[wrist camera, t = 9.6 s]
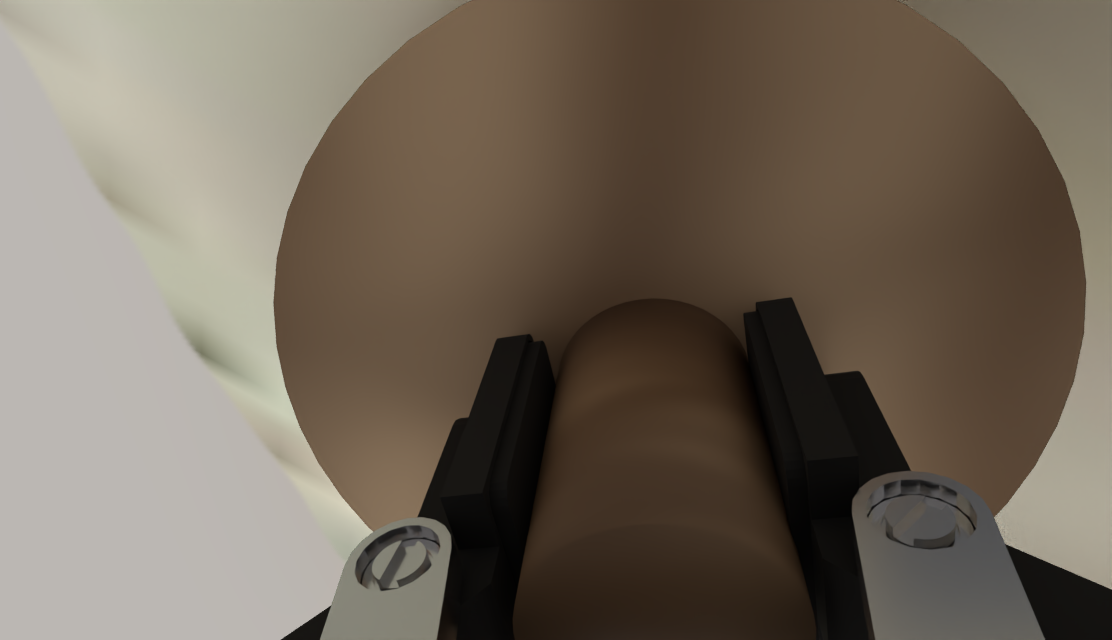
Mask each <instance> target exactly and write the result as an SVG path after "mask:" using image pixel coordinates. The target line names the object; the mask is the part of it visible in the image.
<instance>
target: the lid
mask: <svg viewBox="0 0 1112 640" xmlns="http://www.w3.org/2000/svg"><path fill="white" fill-rule="evenodd" d="M789 297H792V299H793V301H794V303H795V306H796V308H797V310H798V313H799V315H800V317H801V320H802V322H803V325H804V327H805V329H806V332H807V334H808V337H809V339H810V341H811V344H812V346H813V349H814V351H815V353H816V356H817V358H818V361H819V363H820V365H821V368H822V370H823V372H824V375H825V374H833V373H842V372H850V371H860V372H861V373H862V375H863V376H864V378H865V380H866V382H867V384H868V386H869V388H870V390H871V392H872V394H873V396H874V398H875V400H876V402H877V404H878V406H879V408H880V410H881V412H882V414H883V416H884V418H885V420H886V422H887V424H888V426H889V428H890V430H891V432H892V434H893V436H894V438H895V440H896V442H897V444H898V446H899V448H900V450H901V451H902V453H903V455H904V457H905V459H906V461H907V463H908V465H909V467H910V469H911V471H916V472H929V473H933V474H937V475H941V476H944V477H948V478H951V479H953V480H955V481H957V482H959V483H961V484H963V485H966V486H968V487H969V488H970V489H971V490H973V491H974V492H975V493H976V494H978V495H979V496H980V497H981V498H982V499H983V500H984V502H985V503H986V505H987V506H988V507H989V509H990V510H991V512H992V514H993V517H995V516H996V515H997V513H998V512H999V511H1000V510H1001V509H1002V508H1003V507H1004V506H1005V505H1006V504H1007V503H1008V502H1009V500H1010V499H1011V498H1012V496H1013V495H1014V493H1015V492H1016V491H1017V489H1018V488H1019V487H1020V485H1021V484H1022V483H1023V481H1024V480H1025V479H1026V477H1027V476H1028V475H1029V473H1030V472H1031V471H1032V469H1033V468H1034V466H1035V465H1036V463H1037V461H1038V459H1039V457H1040V456H1041V454H1042V452H1043V450H1044V448H1045V447H1046V445H1047V443H1048V441H1049V439H1050V437H1051V436H1052V434H1053V432H1054V430H1055V428H1056V427H1057V424H1058V422H1059V419H1060V416H1061V414H1062V411H1063V409H1064V406H1065V403H1066V401H1067V398H1068V395H1069V393H1070V390H1071V387H1072V385H1073V382H1074V378H1075V373H1076V368H1077V364H1078V359H1079V354H1080V349H1081V344H1082V340H1083V335H1084V320H1085V297H1086V278H1085V270H1084V262H1083V254H1082V246H1081V238H1080V231H1079V228H1078V224H1077V221H1076V218H1075V214H1074V211H1073V208H1072V205H1071V201H1070V198H1069V195H1068V192H1067V188H1066V185H1065V182H1064V179H1063V177H1062V175H1061V173H1060V171H1059V169H1058V167H1057V165H1056V163H1055V161H1054V159H1053V157H1052V156H1051V154H1050V152H1049V150H1048V148H1047V146H1046V144H1045V142H1044V140H1043V138H1042V136H1041V134H1040V132H1039V130H1038V129H1037V127H1036V126H1035V125H1034V123H1033V122H1032V121H1031V119H1030V118H1029V117H1028V115H1027V114H1026V113H1025V111H1024V110H1023V109H1022V107H1021V106H1020V105H1019V103H1018V102H1017V101H1016V99H1015V98H1014V97H1013V95H1012V94H1011V93H1010V91H1009V90H1008V89H1007V87H1006V86H1005V85H1004V83H1003V82H1002V81H1001V80H1000V79H999V78H997V77H996V76H995V75H994V74H993V73H992V72H991V71H990V70H989V69H988V68H987V67H986V66H985V65H984V64H983V63H982V62H981V61H980V60H979V59H978V58H976V57H975V56H974V55H973V54H972V53H971V52H970V51H969V50H968V49H967V48H966V47H965V46H964V45H963V44H962V43H961V42H960V41H958V40H957V39H955V38H954V37H952V36H951V35H950V34H948V33H947V32H945V31H944V30H942V29H941V28H939V27H938V26H936V25H935V24H933V23H932V22H930V21H929V20H927V19H926V18H924V17H923V16H922V15H920V14H919V13H917V12H916V11H914V10H913V9H911V8H910V7H908V6H907V5H905V4H903V3H901V2H898V1H896V0H472V1H470V2H468V3H466V4H464V5H462V6H459V7H458V8H456V9H455V10H453V11H452V12H450V13H449V14H447V15H446V16H444V17H443V18H441V19H440V20H438V21H437V22H435V23H434V24H433V25H431V26H430V27H428V28H427V29H425V30H424V31H422V32H421V33H419V34H418V35H416V36H415V37H413V38H412V39H410V40H409V41H408V42H406V43H405V44H404V45H403V46H402V47H401V48H400V49H399V50H398V51H397V52H395V53H394V54H393V55H392V56H391V57H390V58H389V59H388V60H387V61H386V62H384V63H383V64H382V65H381V66H380V67H379V68H378V69H377V70H376V71H375V72H374V73H372V74H371V75H370V76H369V77H368V78H367V79H366V80H365V81H364V82H363V84H362V85H361V86H360V87H359V89H358V90H357V91H356V92H355V94H354V95H353V96H352V97H351V98H350V100H349V101H348V102H347V103H346V105H345V106H344V107H343V108H342V110H341V111H340V112H339V113H338V114H337V116H336V117H335V118H334V119H333V121H332V122H331V124H330V125H329V127H328V129H327V131H326V132H325V134H324V136H323V137H322V139H321V141H320V142H319V144H318V146H317V148H316V149H315V151H314V153H313V154H312V156H311V158H310V160H309V161H308V163H307V165H306V166H305V169H304V171H303V174H302V176H301V179H300V182H299V184H298V187H297V189H296V192H295V194H294V197H293V199H292V202H291V204H290V207H289V209H288V212H287V216H286V220H285V225H284V229H283V234H282V238H281V242H280V247H279V251H278V255H277V264H276V277H275V290H274V316H275V330H276V344H277V350H278V355H279V359H280V364H281V369H282V373H283V378H284V382H285V387H286V390H287V393H288V396H289V398H290V401H291V404H292V407H293V409H294V412H295V415H296V418H297V420H298V423H299V426H300V428H301V430H302V432H303V434H304V436H305V438H306V440H307V442H308V444H309V445H310V447H311V449H312V451H313V453H314V455H315V457H316V459H317V461H318V463H319V464H320V466H321V467H322V469H323V470H324V472H325V473H326V475H327V476H328V477H329V479H330V480H331V482H332V483H333V485H334V486H335V488H336V489H337V491H338V492H339V494H340V495H341V496H342V498H343V499H344V500H345V501H346V502H347V503H348V504H349V506H350V507H351V508H352V509H353V510H354V511H355V512H356V514H357V515H358V516H359V517H360V518H361V519H362V521H363V522H364V523H365V524H366V525H367V526H368V527H369V528H370V529H371V530H372V531H373V532H374V531H375V530H377V529H379V528H381V527H383V526H385V525H387V524H390V523H392V522H395V521H399V520H402V519H406V518H417V517H418V514H419V511H420V509H421V506H422V504H423V501H424V498H425V496H426V493H427V491H428V488H429V485H430V483H431V480H432V478H433V475H434V472H435V470H436V467H437V465H438V462H439V459H440V457H441V454H442V451H443V449H444V446H445V444H446V441H447V438H448V436H449V433H450V431H451V428H452V426H453V424H454V422H455V420H457V419H459V418H466V417H469V414H470V411H471V409H472V406H473V403H474V400H475V397H476V395H477V392H478V389H479V386H480V383H481V381H482V378H483V375H484V372H485V369H486V367H487V364H488V361H489V358H490V355H491V353H492V350H493V347H494V344H495V341H496V340H497V338H503V337H511V336H518V335H525V334H530V335H531V336H532V338H533V340H534V342H536V341H544V343H545V345H546V348H547V352H548V356H549V360H550V364H551V368H552V372H553V376H554V380H555V384H556V387H555V393H554V398H553V403H552V409H551V414H550V419H549V424H548V430H547V435H546V440H545V446H544V451H543V456H542V462H541V467H540V472H539V478H538V483H537V488H536V493H535V499H534V504H533V509H532V515H531V520H530V525H529V531H528V536H527V541H526V546H525V552H524V557H523V562H522V568H521V573H520V578H519V584H518V589H517V594H516V599H515V605H514V612H513V634H514V638H515V640H816V624H815V618H814V613H813V609H812V605H811V601H810V598H809V594H808V590H807V586H806V582H805V578H804V574H803V570H802V566H801V562H800V558H799V554H798V550H797V548H796V545H795V542H794V539H793V537H792V534H791V530H790V526H789V522H788V518H787V514H786V510H785V506H784V502H783V498H782V494H781V490H780V486H779V482H778V478H777V474H776V470H775V466H774V462H773V458H772V454H771V450H770V446H769V442H768V438H767V434H766V431H765V427H764V423H763V419H762V415H761V411H760V407H759V403H758V399H757V395H756V391H755V387H754V383H753V379H752V375H751V371H750V367H749V363H748V354H747V345H746V336H745V327H744V316H743V314H744V313H746V312H753V311H756V302H761V301H768V300H775V299H782V298H789Z"/></svg>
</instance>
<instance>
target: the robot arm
mask: <svg viewBox="0 0 1112 640" xmlns="http://www.w3.org/2000/svg"><path fill="white" fill-rule="evenodd" d="M743 316H744V327H745V336H746V345H747V354H748V363H749V367H750V371H751V375H752V379H753V383H754V387H755V391H756V395H757V399H758V403H759V407H760V411H761V415H762V419H763V423H764V427H765V431H766V434H767V438H768V442H769V446H770V450H771V454H772V458H773V462H774V466H775V470H776V474H777V478H778V482H779V486H780V490H781V494H782V498H783V502H784V506H785V510H786V514H787V518H788V522H789V526H790V530H791V534H792V537H793V539H794V542H795V545H796V548H797V550H798V554H799V558H800V562H801V566H802V570H803V574H804V578H805V582H806V586H807V590H808V594H809V598H810V601H811V605H812V609H813V613H814V618H815V624H816V640H1112V590H1111V589H1109V588H1107V587H1104V586H1102V585H1099V584H1097V583H1095V582H1092V581H1090V580H1088V579H1085V578H1083V577H1081V576H1078V575H1076V574H1074V573H1071V572H1069V571H1067V570H1064V569H1062V568H1060V567H1057V566H1055V565H1053V564H1050V563H1048V562H1046V561H1043V560H1041V559H1039V558H1036V557H1034V556H1032V555H1029V554H1027V553H1025V552H1022V551H1020V550H1018V549H1015V548H1013V547H1011V546H1008V545H1006V544H1005V543H1004V541H1003V538H1002V536H1001V533H1000V531H999V529H998V526H997V524H996V521H995V519H994V517H993V514H992V512H991V510H990V509H989V507H988V506H987V505H986V503H985V502H984V500H983V499H982V498H981V497H980V496H979V495H978V494H976V493H975V492H974V491H973V490H971V489H970V488H969V487H968V486H966V485H963V484H961V483H959V482H957V481H955V480H953V479H951V478H948V477H944V476H941V475H937V474H933V473H929V472H916V471H911V469H910V467H909V465H908V463H907V461H906V459H905V457H904V455H903V453H902V451H901V450H900V448H899V446H898V444H897V442H896V440H895V438H894V436H893V434H892V432H891V430H890V428H889V426H888V424H887V422H886V420H885V418H884V416H883V414H882V412H881V410H880V408H879V406H878V404H877V402H876V400H875V398H874V396H873V394H872V392H871V390H870V388H869V386H868V384H867V382H866V380H865V378H864V376H863V375H862V373H861V372H860V371H850V372H842V373H833V374H825V375H824V372H823V370H822V368H821V365H820V363H819V361H818V358H817V356H816V353H815V351H814V349H813V346H812V344H811V341H810V339H809V337H808V334H807V332H806V329H805V327H804V325H803V322H802V320H801V317H800V315H799V313H798V310H797V308H796V306H795V303H794V301H793V299H792V297H789V298H782V299H775V300H768V301H761V302H756V311H753V312H746V313H744V314H743ZM555 387H556V384H555V380H554V376H553V372H552V368H551V364H550V360H549V356H548V352H547V348H546V345H545V343H544V341H536V342H534V340H533V338H532V336H531V335H530V334H525V335H518V336H511V337H503V338H497V340H496V341H495V344H494V347H493V350H492V353H491V355H490V358H489V361H488V364H487V367H486V369H485V372H484V375H483V378H482V381H481V383H480V386H479V389H478V392H477V395H476V397H475V400H474V403H473V406H472V409H471V411H470V414H469V417H466V418H459V419H457V420H455V422H454V424H453V426H452V428H451V431H450V433H449V436H448V438H447V441H446V444H445V446H444V449H443V451H442V454H441V457H440V459H439V462H438V465H437V467H436V470H435V472H434V475H433V478H432V480H431V483H430V485H429V488H428V491H427V493H426V496H425V498H424V501H423V504H422V506H421V509H420V511H419V514H418V517H417V518H406V519H402V520H399V521H395V522H392V523H390V524H387V525H385V526H383V527H381V528H379V529H377V530H375V531H374V532H373V533H371V534H370V535H369V536H367V537H366V538H365V539H363V540H362V541H361V542H360V543H359V544H358V546H357V547H356V548H355V549H354V550H353V551H352V552H351V554H350V556H349V558H348V560H347V562H346V564H345V566H344V569H343V572H342V575H341V578H340V581H339V584H338V587H337V590H336V593H335V596H334V599H333V602H332V605H331V606H330V607H328V608H327V609H325V610H324V611H322V612H321V613H320V614H318V615H317V616H315V617H314V618H312V619H311V620H309V621H308V622H306V623H305V624H303V625H302V626H300V627H299V628H297V629H296V630H295V631H293V632H291V633H290V634H289V635H287V636H286V637H284V638H283V639H281V640H515V638H514V634H513V612H514V605H515V599H516V594H517V589H518V584H519V578H520V573H521V568H522V562H523V557H524V552H525V546H526V541H527V536H528V531H529V525H530V520H531V515H532V509H533V504H534V499H535V493H536V488H537V483H538V478H539V472H540V467H541V462H542V456H543V451H544V446H545V440H546V435H547V430H548V424H549V419H550V414H551V409H552V403H553V398H554V393H555Z"/></svg>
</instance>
